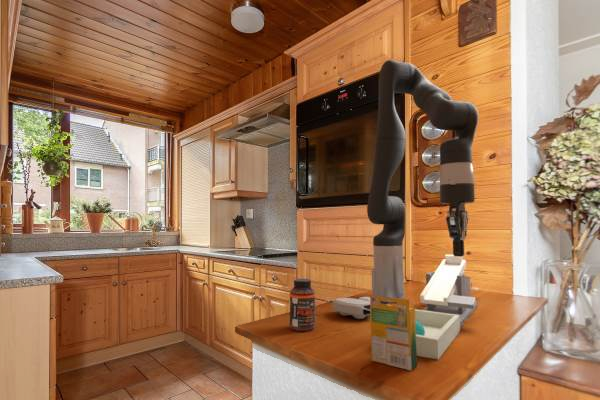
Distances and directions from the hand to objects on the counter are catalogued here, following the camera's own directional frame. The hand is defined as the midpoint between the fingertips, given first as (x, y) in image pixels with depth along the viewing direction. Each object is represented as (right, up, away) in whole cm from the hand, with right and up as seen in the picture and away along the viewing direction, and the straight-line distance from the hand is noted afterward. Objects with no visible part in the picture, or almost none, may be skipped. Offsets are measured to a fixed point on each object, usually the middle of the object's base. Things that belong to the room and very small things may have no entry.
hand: (458, 256), depth 82 cm
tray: (-12, -16, -9) cm, 22 cm away
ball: (-14, -13, -12) cm, 23 cm away
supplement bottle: (-37, -17, -1) cm, 41 cm away
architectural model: (+16, -19, +31) cm, 40 cm away
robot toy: (-21, -18, +11) cm, 30 cm away
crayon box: (-21, -16, -22) cm, 34 cm away
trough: (+4, -11, +10) cm, 16 cm away
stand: (+2, -17, +11) cm, 21 cm away
